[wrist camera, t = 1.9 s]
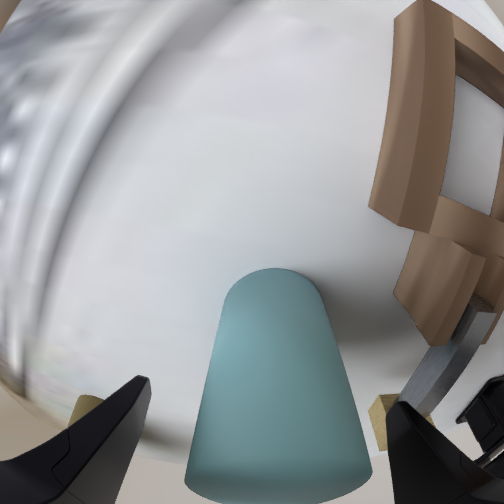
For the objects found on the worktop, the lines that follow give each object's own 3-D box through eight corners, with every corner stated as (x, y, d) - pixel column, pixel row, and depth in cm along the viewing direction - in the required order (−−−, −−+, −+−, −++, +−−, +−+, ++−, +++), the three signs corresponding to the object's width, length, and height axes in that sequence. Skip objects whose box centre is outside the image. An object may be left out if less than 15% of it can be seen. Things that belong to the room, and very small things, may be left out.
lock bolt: (478, 289, 10) (512, 322, 7) (407, 407, 13) (421, 443, 10) (439, 283, 10) (477, 321, 7) (367, 410, 13) (379, 451, 10)
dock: (517, 99, 8) (565, 101, 4) (472, 303, 13) (509, 342, 9) (394, 18, 8) (439, -17, 4) (344, 286, 13) (373, 344, 9)
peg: (335, 277, 13) (408, 447, 4) (307, 355, 14) (330, 506, 6) (229, 259, 12) (180, 444, 4) (218, 343, 14) (186, 499, 6)
